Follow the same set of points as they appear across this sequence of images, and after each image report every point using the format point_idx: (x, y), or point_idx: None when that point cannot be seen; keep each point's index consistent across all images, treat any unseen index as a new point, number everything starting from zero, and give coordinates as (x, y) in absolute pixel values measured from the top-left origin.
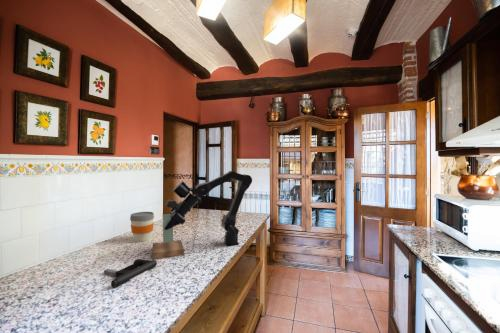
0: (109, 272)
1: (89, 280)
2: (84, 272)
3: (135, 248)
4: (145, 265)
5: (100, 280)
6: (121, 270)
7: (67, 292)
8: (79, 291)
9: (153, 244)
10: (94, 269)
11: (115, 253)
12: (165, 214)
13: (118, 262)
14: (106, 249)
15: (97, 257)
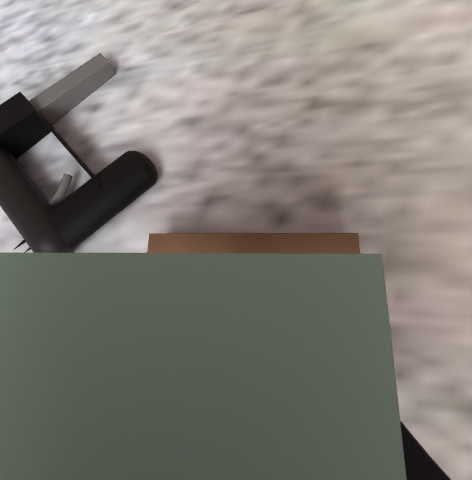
0: (71, 76)
1: (74, 35)
2: (157, 3)
3: (398, 144)
4: (1, 202)
5: (53, 67)
6: (19, 109)
7: (23, 5)
8: (8, 31)
9: (331, 238)
10: (169, 26)
11: (343, 60)
12: (319, 386)
13: (205, 93)
14: (427, 10)
15: (312, 2)
